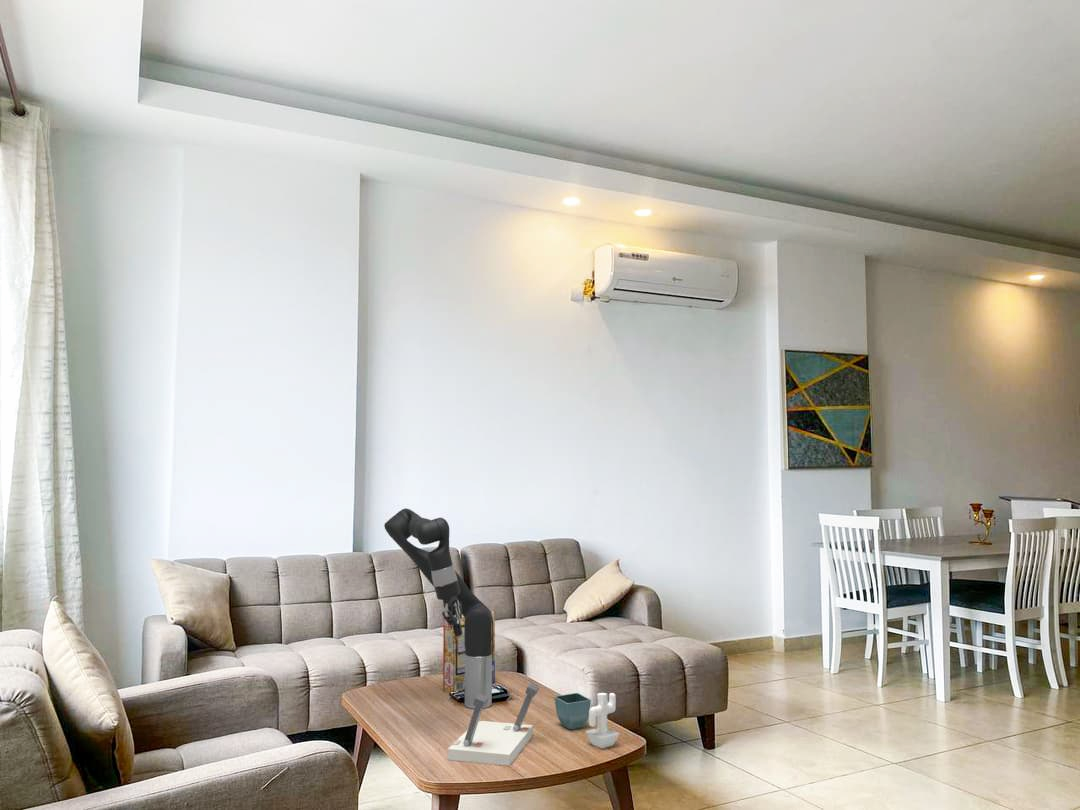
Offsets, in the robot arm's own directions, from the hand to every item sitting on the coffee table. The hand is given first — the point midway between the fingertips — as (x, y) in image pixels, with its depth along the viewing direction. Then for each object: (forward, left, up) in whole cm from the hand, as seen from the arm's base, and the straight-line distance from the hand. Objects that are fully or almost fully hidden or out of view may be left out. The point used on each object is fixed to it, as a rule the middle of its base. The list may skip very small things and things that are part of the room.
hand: (459, 635), depth 260 cm
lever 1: (+20, +10, -26) cm, 34 cm away
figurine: (+2, +46, -29) cm, 54 cm away
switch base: (+12, +15, -29) cm, 35 cm away
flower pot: (-12, +34, -29) cm, 46 cm away
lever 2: (+4, +20, -26) cm, 33 cm away
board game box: (-46, -12, -29) cm, 56 cm away
